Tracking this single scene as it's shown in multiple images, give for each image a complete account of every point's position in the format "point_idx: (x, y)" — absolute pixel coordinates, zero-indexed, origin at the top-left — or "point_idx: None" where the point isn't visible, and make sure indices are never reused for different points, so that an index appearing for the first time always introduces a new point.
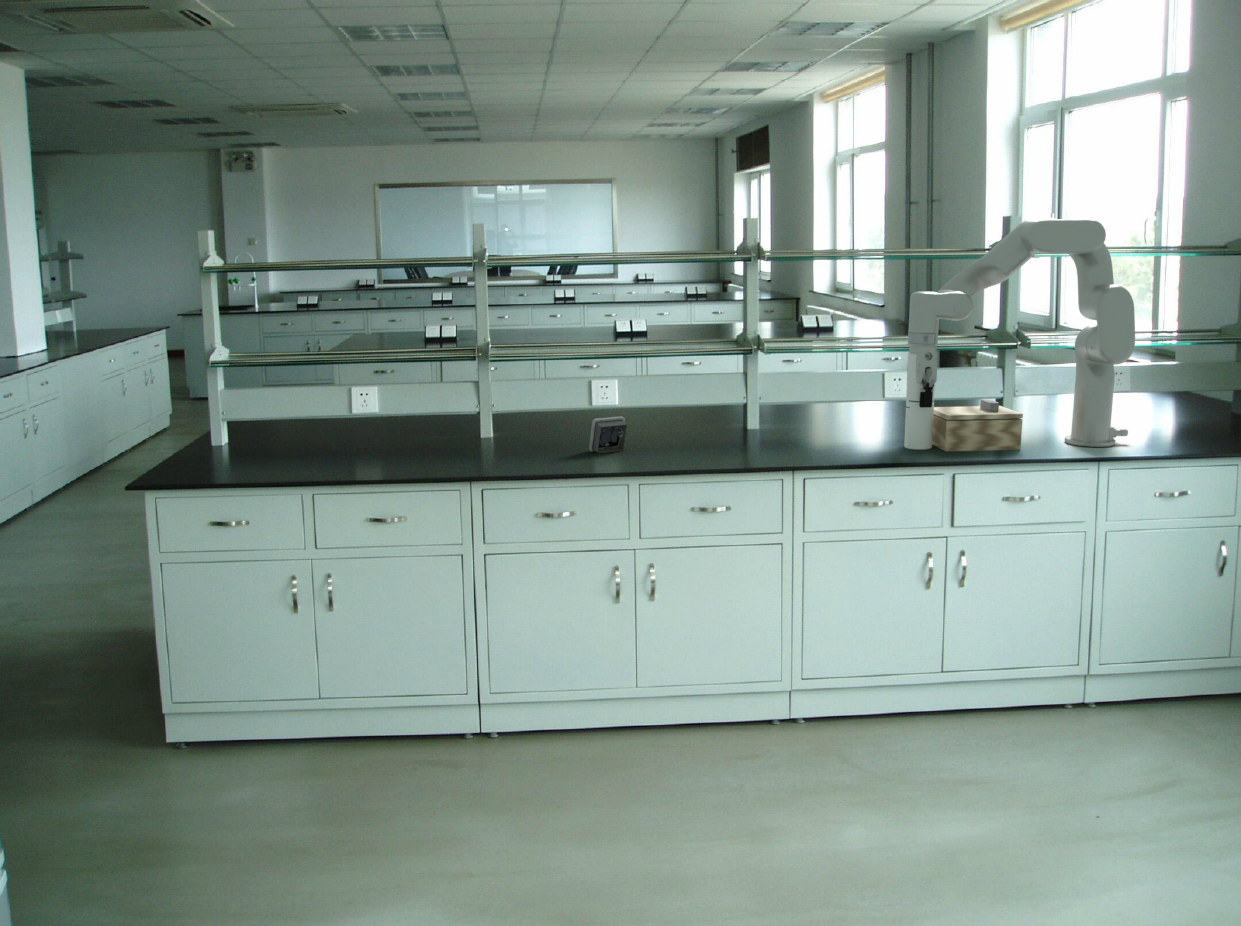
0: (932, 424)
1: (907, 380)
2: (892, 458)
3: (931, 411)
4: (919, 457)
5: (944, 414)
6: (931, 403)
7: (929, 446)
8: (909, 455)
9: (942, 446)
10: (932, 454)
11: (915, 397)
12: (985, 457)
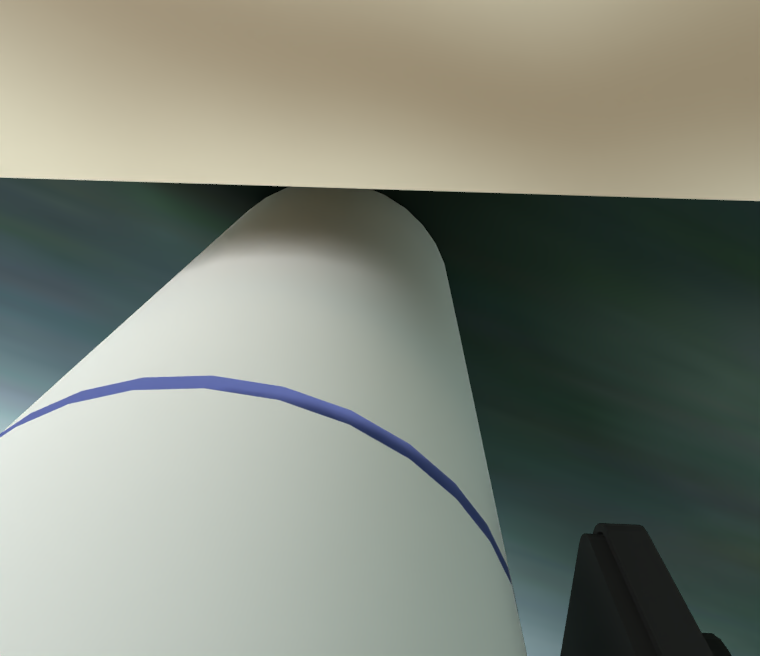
0: (404, 273)
1: None
2: (710, 613)
3: (452, 394)
4: (746, 444)
5: (586, 192)
6: (659, 577)
7: (432, 243)
8: (649, 482)
9: None
10: (670, 306)
11: None
12: None
